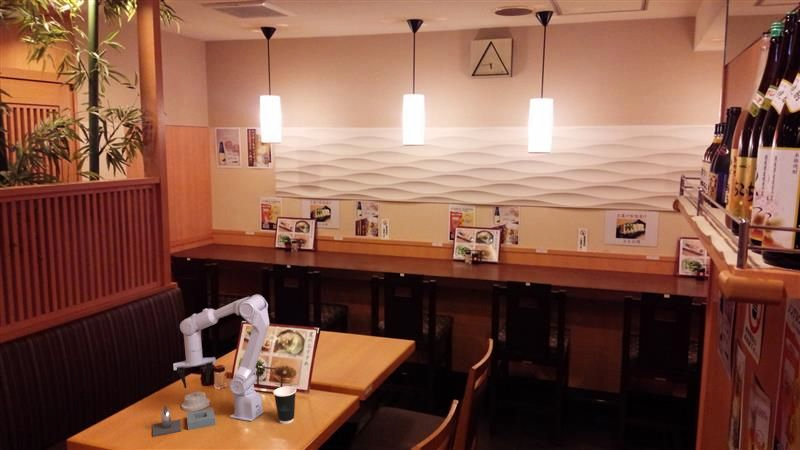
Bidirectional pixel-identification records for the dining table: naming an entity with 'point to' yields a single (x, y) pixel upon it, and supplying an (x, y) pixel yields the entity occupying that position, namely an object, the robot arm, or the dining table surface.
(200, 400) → the mechanical component
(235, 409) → the robot arm
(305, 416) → the dining table surface
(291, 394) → the dixie cup
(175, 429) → the key mat
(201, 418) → the socket block
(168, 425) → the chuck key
